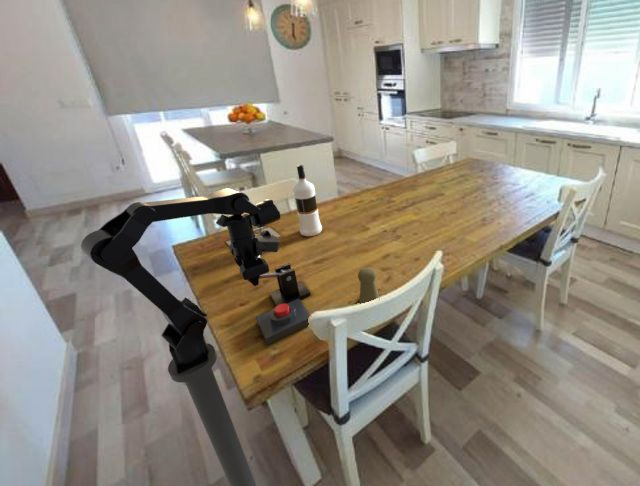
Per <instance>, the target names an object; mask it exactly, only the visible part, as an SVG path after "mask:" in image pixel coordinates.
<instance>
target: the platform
mask: <svg viewBox="0 0 640 486" xmlns="http://www.w3.org/2000/svg"><path fill="white" fill-rule="evenodd" d="M252 227H253V231H254V233H255V236H259V235H260V234H261V233H262V232H263V231H264V230H267V231H269V232H270V234H271V236H272V235H274V236H276V237H277V238H280V237H281V235H280V234H279V233H278V232H276V231H275V230H274V229H273V228H272V227H269V226H268V227H265V228H263V227H261V228H258V227H256V226H253V225H252ZM225 243H226V244H227V245H228V247H229V246H230V244H231V242H230V240H228V241H225Z"/></svg>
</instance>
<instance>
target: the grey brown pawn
mask: <svg viewBox="0 0 640 486" xmlns="http://www.w3.org/2000/svg"><path fill="white" fill-rule="evenodd" d="M357 278H358V281H359V283H360V285H359V286H360V287H359V305H360V304H361V303H365V302H369V301H371V300H374V299H376V298H378V297H379V298H380V296H379V295H380V294H379V291H378V288H377V283H376V278H377V272H376V270H375V269H374V268H373V267H369V266H368V267H363V268H361V269H359V271H358V272H357Z"/></svg>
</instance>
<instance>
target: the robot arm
mask: <svg viewBox="0 0 640 486" xmlns="http://www.w3.org/2000/svg"><path fill="white" fill-rule="evenodd" d="M208 214H209V215H210V214H215V215H220V217H219V218H218V219H217V220H216V221H215V224H216V225H217V226H219V227H223V228H226V229H227V232H228V236H229V241H230V242H231V244H230V246H229V245H228V247H229V251H230V254H231V255H232V256H234V258H233V260H234V262H235V264H236V265H237V266H238V267H239V272H240V274H241V277H242V279H243V281H248V280H249V281H250V282H249V281H248V282H249V283H251V285H253V287H257V286H259V283H260V279H259V276H260V275H263V274H266V273H270V267H269V264H268V262H267V261H266V259H264V258H262V257H260V258H257V257H258V256H259V255H260V256H262V255H263V253H278V252H279V248H280V242H281V241H280V239H279V237H276V236H274V235H272V236H271V234H270V232H269V231H267V230H264V231H263V232H262V233H261V234H260V235H259V236H255V233H254V231H253V227H252V225H253V226H256V227H258V228H261V227H262V228H265V227H266V226H268V225H270V224H273V223H275V222H277V221H280V220H281V212H280V210H279V209H278V207H277V206H276V204H275V203H274V200H273V199H270V198H266V199H264V200H262V201H259V202H257V203H252V202H251V201H250V198H249V196H248V194H246V193H244V192H241V191H239V190H235V189H233V188H227V187H226V188H223V189H219V190H215V191H212V192H210V193H208V194H205V195H202V196H194V197H184V198H175V199H165V200H157V201H147V202H144V201H143V202H142V201H135V202H133V203H131V204H129V205H128V206H127V207H126V208H125V209H124V210H123V211H122V212H121V213H118V214H117V215H115V216H114V217H113V218H110V219H109V220H108V221H106V222H105V223H104V224H103V225H102V226H101V227H99V228H98V230H94V231H92V232H90V233H88V234H87V235H86V236H85V237H84V238H83V239H82V241H81V245H80V248H81V251H83V253H84V254H85V255H86V256H87V257H88V258H89V259H90V260H91V261H92V262H93V263H95V264H96V265H98V266H99V267H101V268H103V269H105V270H107V271H109V272H111V273H112V274H115V275H117V276H119V277H122V278H123V279H124V280H125V281H127V282H128V283H129V284H130V285H131V286H132V287H133V288H134V289H136V290H137V291H138V292H139V293H140V294H142V295H143V296H144V297H145V298H146V299H147V300H148V301H149V302H150V303H152V304H153V305H154V306H155V307H156V308H158V309H159V310H160V311H161V312H162V315H163V317H164V319H165V320H166V321H167V323H168V324H167V325H166V327H165V328H164V330H163V332H162V333H161V335H160V336H161V337H162V338H163V339H164V340H165V341H166V342H167V344H168V349H169V353H170V355H171V359H173V360H174V362H175V365H176V370H177V374H179V373H182V372H184V371H186V370H188V369H190V368H192V367H195V366H197V365H199V364H201V363H203V362H205V361H207V360H208V355H207V353H209V350H208V346H207V343H208V342H207V341H206V339H205V336H204V334H205V333H204V332H205V329H206V327H207V325H208V319H207V318H206V317H208V314H207V313H206V312H204V310H202V309H200V306H199V305H198V304H196V302H194V301H192V300H191V299H190V298H189V297H187V296H185V297H184V298H183V299H182V300H179V299H178V298H177V297H176V296H175V295H174V294H172V293H171V292H170V290H168V289H167V287H165V286H164V285H163V284H162V283H161V282H160V281H159V280H158V279H157V278H156V277H155V276H154V275H153V274H151V272H149V271H148V270H147V269H146V268H145V267H144V266H143V265H142V263H141V261H140V259H139V257H138V255H137V253H136V252H135V250H134V247H135V246H136V245H137V244H138V243H139V242H140V240H141V239H142V237H143V235H144V234H145V233H146V231H147V229H148V228H149V226H151V225H152V224H153V223H157V222H163V221H169V220H176V219H177V220H178V219H182V218H190V217H197V216H203V215H208ZM262 228H261V229H262Z"/></svg>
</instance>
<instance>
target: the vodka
mask: <svg viewBox="0 0 640 486" xmlns="http://www.w3.org/2000/svg"><path fill="white" fill-rule="evenodd" d="M296 170H297V175H298V182H297V183H295V184H294V186H293V188H292V191H293V197H294V200H295V206H296V209H297V216H298V224H299V234H300V235H302V236H303V237H315V236H317V235H319V234H320V233H321V232H323V231H322V230H323V226H322V223H321V221H320V216H319V215H320V214H319V209H318V205H317V204H318V203H317V196H316V189H315V188H316V187H315V185H314V184H313V183H312V182H310V181H308V180H307V179H306V172H305V167H304V165H303V164H299V165H297V166H296Z"/></svg>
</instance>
